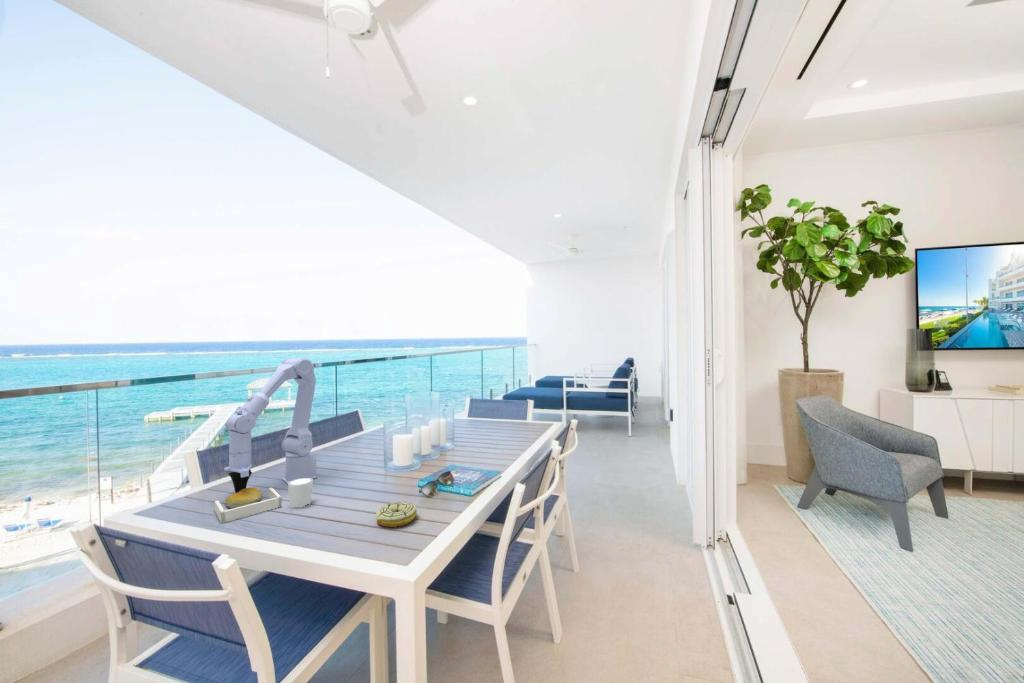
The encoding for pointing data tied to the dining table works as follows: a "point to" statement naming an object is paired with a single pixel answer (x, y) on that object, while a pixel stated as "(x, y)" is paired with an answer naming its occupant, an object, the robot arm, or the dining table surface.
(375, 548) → the dining table surface
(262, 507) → the tray
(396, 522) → the decorated donut
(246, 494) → the bread roll
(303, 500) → the white short cylinder
